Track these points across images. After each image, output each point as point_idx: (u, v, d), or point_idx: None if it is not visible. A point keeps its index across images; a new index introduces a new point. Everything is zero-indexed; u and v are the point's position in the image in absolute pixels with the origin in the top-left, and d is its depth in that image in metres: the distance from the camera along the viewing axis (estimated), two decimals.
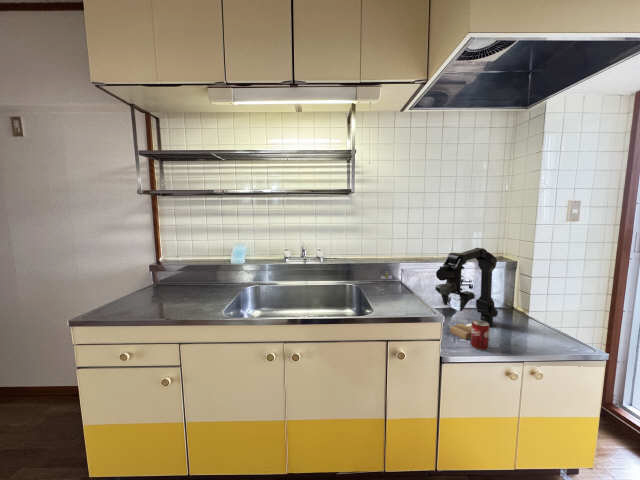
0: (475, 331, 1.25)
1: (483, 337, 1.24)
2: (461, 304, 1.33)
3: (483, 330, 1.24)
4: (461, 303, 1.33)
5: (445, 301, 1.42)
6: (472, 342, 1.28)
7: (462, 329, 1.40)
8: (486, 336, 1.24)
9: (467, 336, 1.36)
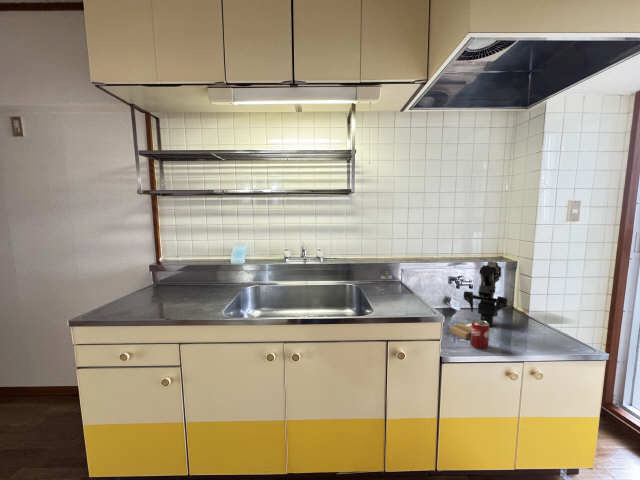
0: (475, 331, 1.25)
1: (483, 337, 1.24)
2: (496, 308, 1.31)
3: (483, 330, 1.24)
4: (496, 307, 1.31)
5: (472, 308, 1.37)
6: (472, 342, 1.28)
7: (462, 329, 1.40)
8: (486, 336, 1.24)
9: (467, 336, 1.36)
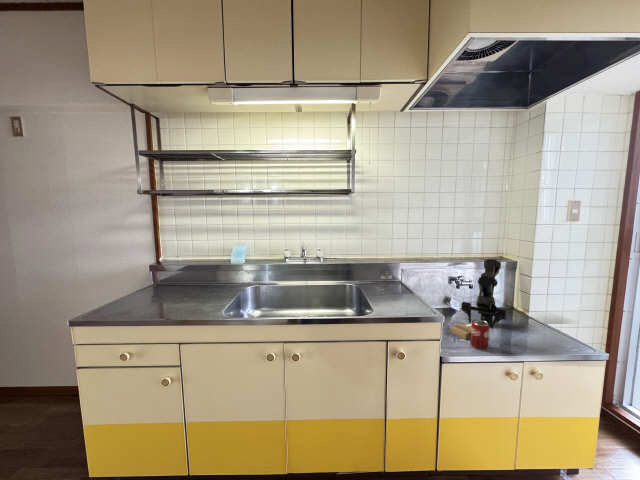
0: (475, 331, 1.25)
1: (483, 337, 1.24)
2: (495, 320, 1.27)
3: (483, 330, 1.24)
4: (495, 319, 1.27)
5: (470, 319, 1.32)
6: (472, 342, 1.28)
7: (462, 329, 1.40)
8: (486, 336, 1.24)
9: (467, 336, 1.36)
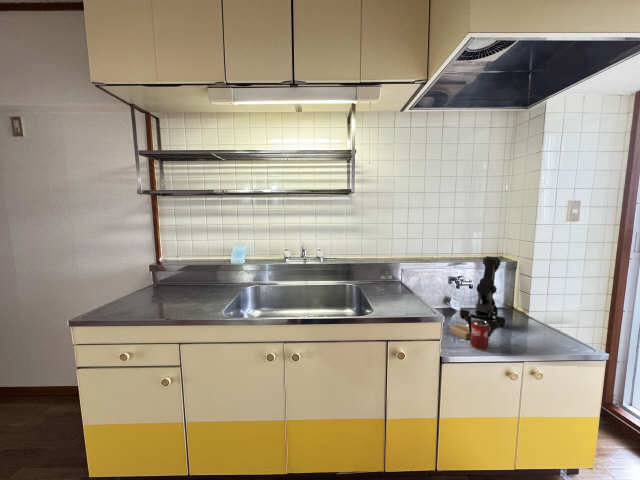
0: (475, 331, 1.25)
1: (483, 337, 1.24)
2: (491, 328, 1.25)
3: (483, 330, 1.24)
4: (492, 327, 1.25)
5: None
6: (472, 342, 1.27)
7: (462, 329, 1.40)
8: (486, 336, 1.24)
9: (467, 336, 1.36)
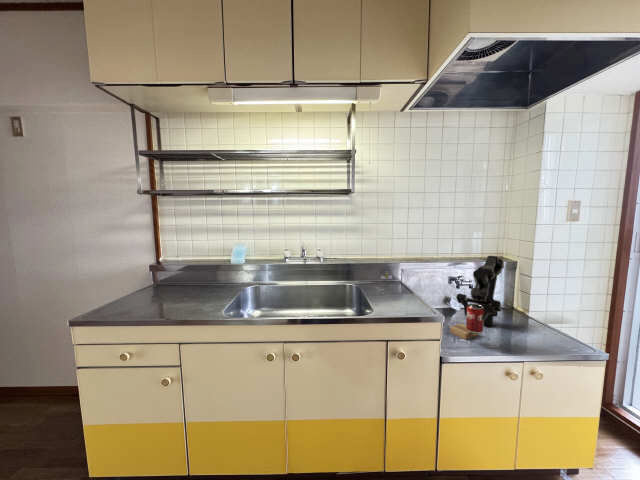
0: (470, 314, 1.29)
1: (477, 320, 1.27)
2: (486, 311, 1.27)
3: (477, 313, 1.27)
4: (486, 310, 1.27)
5: (466, 311, 1.33)
6: (467, 325, 1.31)
7: (462, 329, 1.40)
8: (480, 319, 1.27)
9: (467, 336, 1.36)
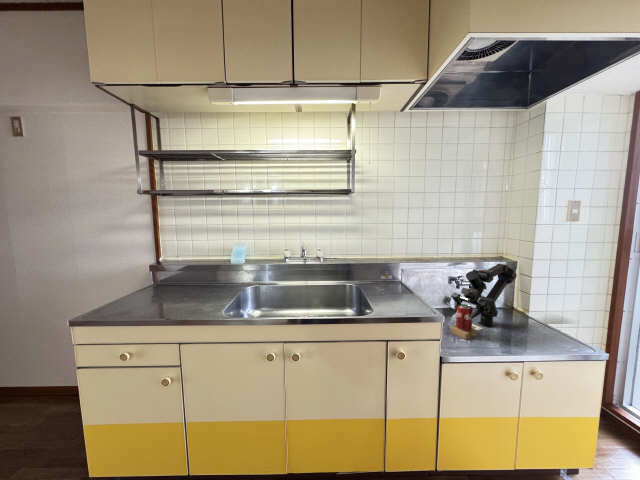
0: (458, 312, 1.39)
1: (464, 319, 1.37)
2: (475, 311, 1.35)
3: (463, 312, 1.37)
4: (476, 310, 1.35)
5: (456, 308, 1.44)
6: (456, 323, 1.42)
7: None
8: (467, 318, 1.37)
9: (467, 336, 1.36)
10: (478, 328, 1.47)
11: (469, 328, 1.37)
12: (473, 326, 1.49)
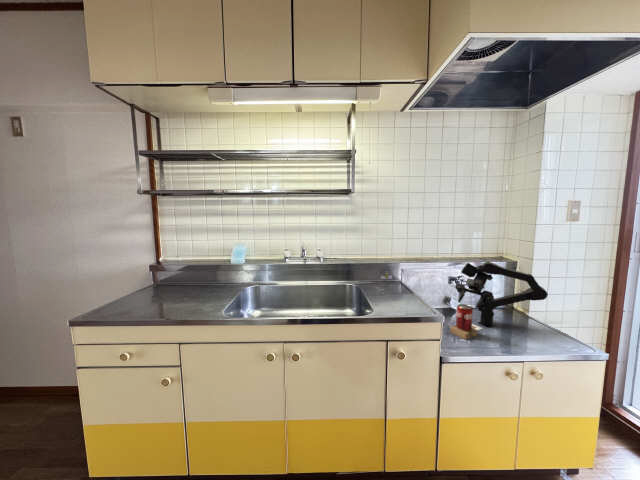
0: (458, 312, 1.39)
1: (464, 319, 1.37)
2: (479, 300, 1.42)
3: (463, 312, 1.37)
4: (480, 300, 1.42)
5: (460, 298, 1.50)
6: (456, 323, 1.42)
7: None
8: (467, 318, 1.37)
9: (467, 336, 1.36)
10: (478, 328, 1.47)
11: (469, 328, 1.37)
12: (473, 326, 1.49)
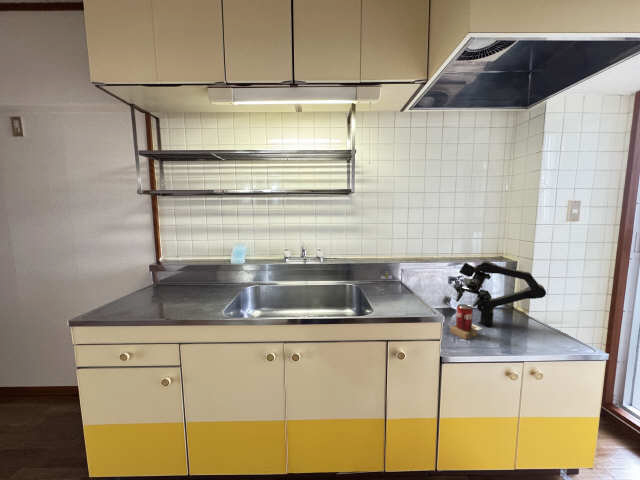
0: (458, 312, 1.39)
1: (464, 319, 1.37)
2: (476, 299, 1.43)
3: (463, 312, 1.37)
4: (477, 299, 1.43)
5: (458, 298, 1.51)
6: (456, 323, 1.42)
7: None
8: (467, 318, 1.37)
9: (467, 336, 1.36)
10: (478, 328, 1.47)
11: (469, 328, 1.37)
12: (473, 326, 1.49)
